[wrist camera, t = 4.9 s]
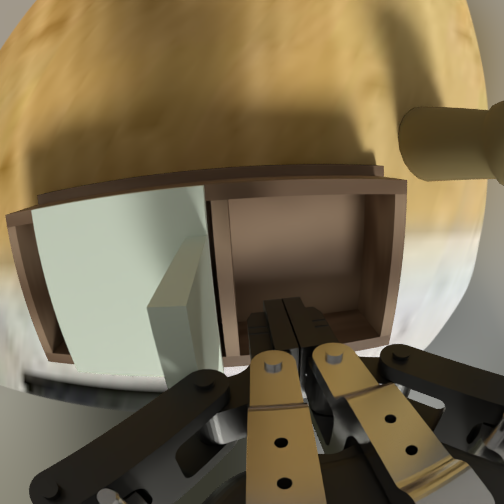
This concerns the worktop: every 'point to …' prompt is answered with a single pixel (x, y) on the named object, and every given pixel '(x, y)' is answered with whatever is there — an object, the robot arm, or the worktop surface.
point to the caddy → (265, 247)
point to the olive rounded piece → (454, 143)
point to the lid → (133, 282)
